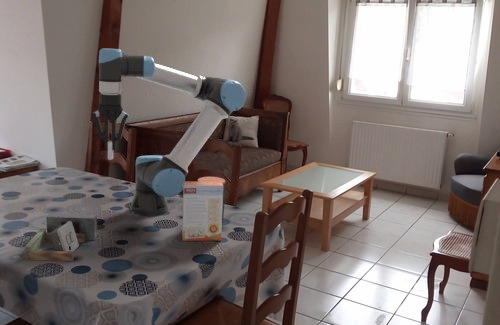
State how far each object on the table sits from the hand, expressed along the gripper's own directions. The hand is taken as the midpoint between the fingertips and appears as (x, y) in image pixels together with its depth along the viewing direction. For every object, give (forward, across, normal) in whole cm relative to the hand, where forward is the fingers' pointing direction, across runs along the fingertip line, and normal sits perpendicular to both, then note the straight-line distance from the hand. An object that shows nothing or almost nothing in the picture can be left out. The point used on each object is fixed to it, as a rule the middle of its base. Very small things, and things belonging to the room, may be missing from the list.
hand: (110, 158), depth 186 cm
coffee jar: (+27, -37, -7) cm, 46 cm away
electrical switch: (+27, +10, +23) cm, 37 cm away
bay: (+26, +13, +22) cm, 37 cm away
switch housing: (+26, +11, +11) cm, 31 cm away
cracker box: (+27, -34, +8) cm, 44 cm away
